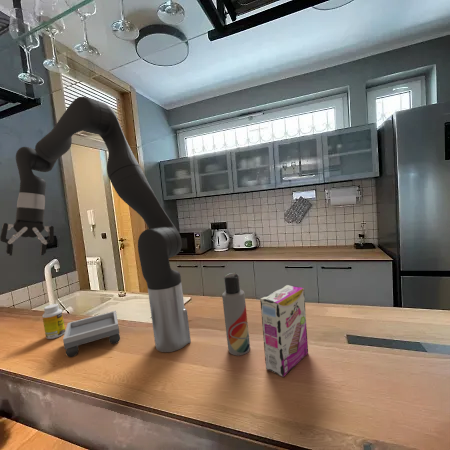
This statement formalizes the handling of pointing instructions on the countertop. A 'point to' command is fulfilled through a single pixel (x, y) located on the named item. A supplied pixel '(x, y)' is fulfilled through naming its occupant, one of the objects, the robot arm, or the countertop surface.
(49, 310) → the supplement bottle
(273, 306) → the candy bar box
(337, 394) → the countertop surface
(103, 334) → the square grey tray
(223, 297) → the lotion bottle
